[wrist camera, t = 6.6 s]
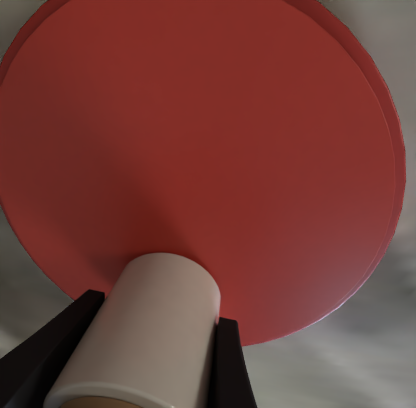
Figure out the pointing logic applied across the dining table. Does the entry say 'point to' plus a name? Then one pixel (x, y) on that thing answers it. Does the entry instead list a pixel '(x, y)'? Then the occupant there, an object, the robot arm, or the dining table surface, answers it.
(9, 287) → the dining table surface
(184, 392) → the spice pot
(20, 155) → the red lid
